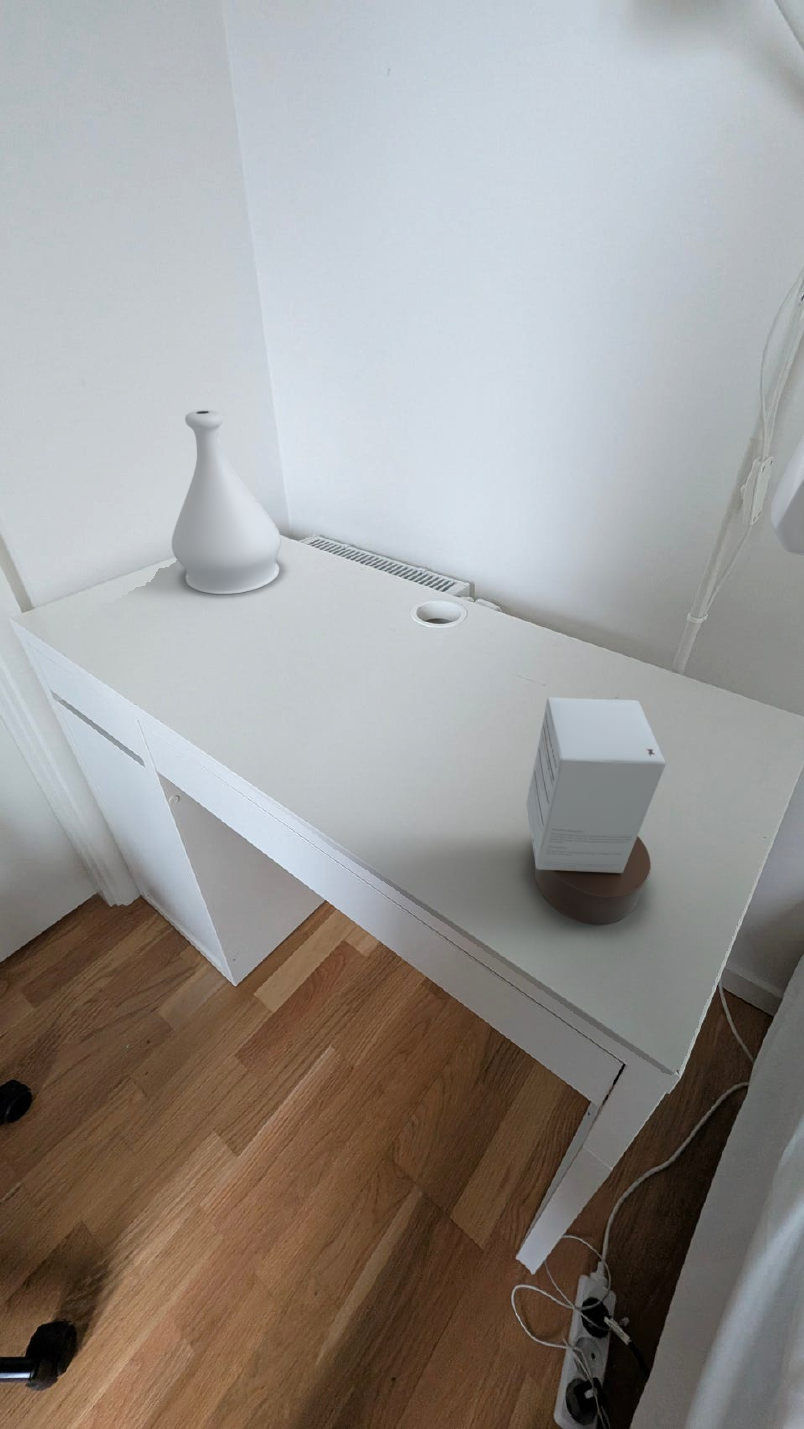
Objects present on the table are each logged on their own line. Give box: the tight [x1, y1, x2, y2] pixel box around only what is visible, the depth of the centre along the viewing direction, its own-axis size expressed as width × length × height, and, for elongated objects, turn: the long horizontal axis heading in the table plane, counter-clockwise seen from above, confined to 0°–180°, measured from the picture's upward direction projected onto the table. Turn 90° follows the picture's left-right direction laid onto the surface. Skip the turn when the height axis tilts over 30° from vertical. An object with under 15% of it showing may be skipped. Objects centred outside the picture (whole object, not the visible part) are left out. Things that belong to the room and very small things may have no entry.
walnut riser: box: [534, 836, 652, 925], centre depth 50 cm, size 9×9×4 cm
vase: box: [171, 409, 282, 595], centre depth 91 cm, size 17×17×25 cm
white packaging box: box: [525, 696, 667, 873], centre depth 46 cm, size 7×7×13 cm
